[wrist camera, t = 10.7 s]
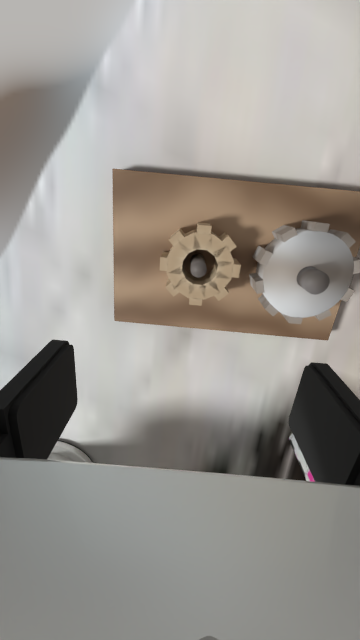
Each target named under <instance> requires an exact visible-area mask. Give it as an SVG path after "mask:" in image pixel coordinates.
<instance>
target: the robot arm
mask: <svg viewBox="0 0 360 640" xmlns="http://www.w3.org/2000/svg"><path fill="white" fill-rule="evenodd" d="M76 405H77V388H76V374H75V361H74V348H73V346H72V345H69V342H68V341H61V340H52V341H50V342H49V343H48V344H47V345H46V346H45V347H44V348H43V349H42V350H41V351H40V352H39V353H38V354H37V355H36V356H35V357H34V358H33V359H32V360H31V361H30V362H29V363H28V364H27V365H26V366H25V367H24V368H23V369H22V370H21V371H20V372H19V373H18V374H17V375H16V376H15V377H14V378H13V379H12V380H11V381H10V382H9V383H8V384H7V385H5V386H4V387H3V388H2V389H1V390H0V640H360V400H359V399H358V398H357V397H356V396H355V394H354V393H353V392H352V391H351V390H350V389H349V388H348V387H347V385H346V384H345V383H344V382H343V381H342V380H341V379H340V378H339V376H338V375H337V374H336V373H335V372H334V371H333V370H332V369H331V367H330V366H329V365H328V364H323V363H310V364H309V366H306V367H305V368H304V371H303V374H302V377H301V381H300V384H299V387H298V391H297V394H296V397H295V400H294V404H293V407H292V410H291V413H290V417H289V426H290V429H291V431H292V433H293V435H294V437H295V439H296V442H297V444H298V446H299V448H300V450H301V452H302V454H303V457H304V459H305V461H306V463H307V465H308V467H309V470H310V472H311V474H312V476H313V478H314V480H315V482H313V481H301V480H290V479H279V478H268V477H257V476H246V475H234V474H223V473H211V472H199V471H187V470H175V469H163V468H151V467H138V466H125V465H113V464H100V463H92V461H91V460H90V459H89V458H88V456H87V455H86V454H85V453H83V452H82V451H81V450H79V449H78V448H76V447H74V446H72V445H69V444H67V443H64V442H60V441H58V439H59V437H60V435H61V434H62V432H63V430H64V428H65V426H66V425H67V423H68V421H69V419H70V417H71V416H72V414H73V412H74V410H75V408H76Z"/></svg>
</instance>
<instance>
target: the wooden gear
mask: <svg viewBox="0 0 360 640" xmlns="http://www.w3.org/2000/svg"><path fill="white" fill-rule="evenodd" d="M211 229H212V226H211V225H210V224H208V223H198V222H197V228H196V229H194V230H192V231H190V232H188V233H184V232H183V231H182V229H181V228H180V229H178V230H177V231H176V232H175V233H174V234H173V235H172V236H171V237H170V239H169V241H170V242H171V244H172V245H173V246H172V248H171V249H170V251H169V252H163V253H162V255H161V257H160V270H161V271H166V273H167V275H168V280H167V283H166V289H167V290H168V291H169V292H170V293H171V294H172V295H173V297H174V296H175V295H176V294H178V293H179V292H180V293H181V294H183V295H184V296H186V297H187V298H189V305H199V306H202V299H203V300H204V299H207V298H210V297H212V296H215V297H216V298H217V300H218V301H219V300H221V299H222V298H223V297H225V296H226V295H227V294H229V292H228V290H227V288H226V285H227V284H228V283H229V282H230V280H231V278H232V277H234V278H239V273H240V267H241V264H240V263H239V262H238V261H237V259H234V258H232V255H231V253H230V252H231V251H232V250H233V249H234V248H236V247H237V246H236V245H235V244H234V242H233V241H232V239H231V238H230V237H229V235H227V234H226V233H225V232H224V233H223V234H222V235H221V236H219V237H218V236H217V235H216V234H214V233H213V232H212V231H211ZM197 249H199V250H207V251H208V252H210V253H211V254H213V255H214V257H215V264H214V268H213V269H212V270H211V272H210V273H209V274H207V275H205V276H203V277H199V278H198V277H195V276H192V275H191V274H189V273H188V272H186V270H185V268H184V266H183V260H184V259H185V257H186V256H187V255H188V253H190V252H192V251H195V250H197Z"/></svg>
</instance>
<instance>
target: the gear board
mask: <svg viewBox="0 0 360 640" xmlns="http://www.w3.org/2000/svg"><path fill="white" fill-rule="evenodd" d="M197 222H198V223H208V224H210V225H211V226H212V229H211V231H212V232H213V233H214V234H216V235H217V236H218V237H219V236H221V235H222V234H223V233H224V232H225V233H226V234H227V235H229V237H230V238H231V239H232V241H233V242H234V244H235V245H236V246H237V247H236V248H234V249H233V250H232V251H231V252H230V253H231V255H232V258H234V259H237V261H238V262H239V263H240V264H241V267H240V273H239V278H234V277H232V278H231V280H230V282H229V283H228V284H227V285H226V288H227V290H228V292H229V294H227V295H226V296H225V297H223V298H222V299H221V300H219V301H218V300H217V298H216V297H215V296H212V297H210V298H207V299H204V300H203V299H202V306H199V305H189V298H187V297H186V296H184V295H183V294H181V293H180V292H179V293H178V294H176V295H175V296H174V297H173V295H172V294H171V293H170V292H169V291H168V290H167V289H166V283H167V280H168V275H167V273H166V271H161V270H160V257H161V255H162V253H163V252H169V251H170V249H171V248H172V246H173V245H172V244H171V242H170V241H169V239H170V237H171V236H172V235H173V234H174V233H175V232H176V231H177V230H178V229H180V228H181V229H182V231H183V232H184V233H188V232H190V231H192V230H194V229H196V228H197ZM113 239H114V318H115V321H122V322H133V323H144V324H155V325H166V326H177V327H188V328H199V329H210V330H221V331H231V332H242V333H253V334H264V335H275V336H286V337H297V338H308V339H319V340H328V339H329V336H330V333H331V330H332V327H333V324H334V321H335V318H336V315H337V312H338V309H339V306H340V303H341V300H343V301H345V302H347V301H348V300H349V299H350V297H351V296H352V295H353V293H354V292H355V291H354V290H352V289H350V288H349V286H350V284H351V282H352V278H353V274H357V273H360V259H359V258H356V256H357V253H358V250H359V247H360V191H349V190H338V189H327V188H316V187H305V186H295V185H284V184H273V183H262V182H251V181H241V180H230V179H219V178H208V177H197V176H186V175H176V174H165V173H154V172H143V171H132V170H122V169H113ZM214 264H215V257H214V255H213V254H211V253H210V252H208V251H207V250H199V249H197V250H195V251H192V252H190V253H188V255H187V256H186V257H185V259H184V260H183V266H184V268H185V270H186V272H188V273H189V274H191V275H192V276H195V277H198V278H199V277H203V276H205V275H207V274H209V273H210V272H211V270H212V269H213V268H214Z"/></svg>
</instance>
